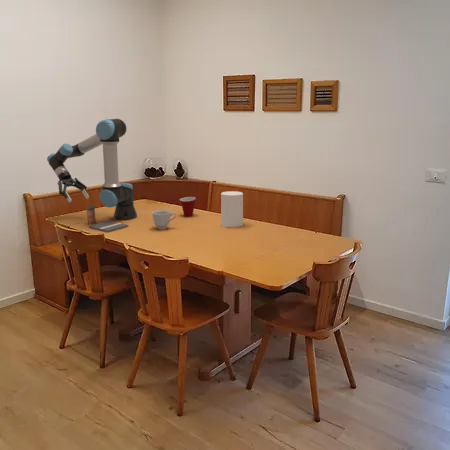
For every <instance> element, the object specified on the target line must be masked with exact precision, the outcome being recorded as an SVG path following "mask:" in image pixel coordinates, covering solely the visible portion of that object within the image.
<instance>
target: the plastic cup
mask: <svg viewBox="0 0 450 450" xmlns="http://www.w3.org/2000/svg"><path fill="white" fill-rule="evenodd" d="M179 201H180V204H181V207H182V212H183V216H184V217H189V218H190V217H193V215H194V209H195V203H196V197H195V196H185V197H182V198H179Z"/></svg>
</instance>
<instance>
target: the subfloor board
mask: <svg viewBox="0 0 450 450" xmlns="http://www.w3.org/2000/svg"><path fill="white" fill-rule="evenodd" d="M126 228H129V224H126V223H121V222H117V221H111V220H108V221H104V222H99V223H96V224H93V225H88V229H92V230H95V231H101V232H104V233H111V232H115V231H118V230H122V229H126Z"/></svg>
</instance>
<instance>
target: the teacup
mask: <svg viewBox="0 0 450 450" xmlns="http://www.w3.org/2000/svg"><path fill="white" fill-rule="evenodd" d="M151 214H152V217H153V222H154V223H153V224H154V225H155V226H156V227H157V229H158V230H165V229H167V228H168V226H169V224H170V222H171V221H174V220H176V219H177V214H176V212H172V211H171V210H169V209H168V210H167V209H157V210H153V211H151ZM173 215H174V217H173V218H171V217H172V216H173Z"/></svg>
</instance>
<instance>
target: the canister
mask: <svg viewBox="0 0 450 450" xmlns="http://www.w3.org/2000/svg"><path fill="white" fill-rule="evenodd" d="M220 195H221V196H220V199H221V200H220V204H221V205H220V209H221V211H220V212H221V214H220V217H221V219H220V220H221V223H220V224H221V226H222V227H226V228H239V227H242V226H244V193H243V192H242V191H236V190H230V191H229V190H228V191H227V190H226V191H223V192H221V193H220Z"/></svg>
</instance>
